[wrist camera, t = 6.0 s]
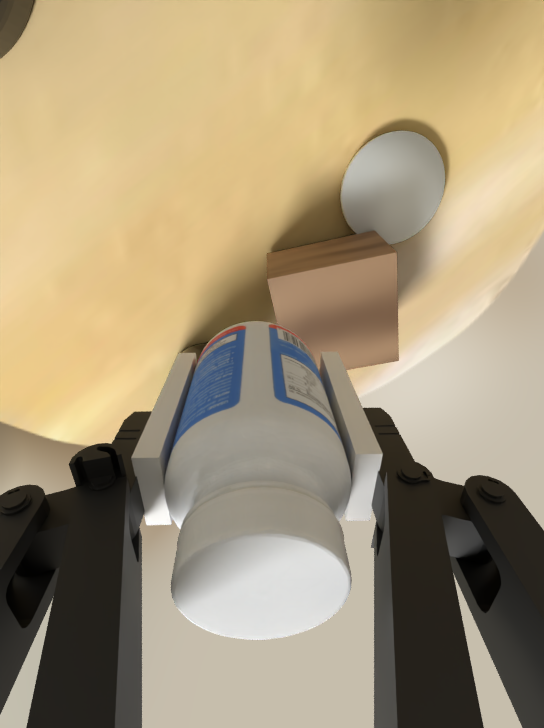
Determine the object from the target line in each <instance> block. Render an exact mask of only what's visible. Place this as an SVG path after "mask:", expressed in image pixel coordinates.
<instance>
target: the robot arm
mask: <svg viewBox="0 0 544 728" xmlns="http://www.w3.org/2000/svg"><path fill="white" fill-rule="evenodd" d="M33 1H34V0H0V58H2V57H3V56H4V55H5V54H6V53H7V52H8V51H9V50H10V49H11V48H12V47H13V46H14V44H15V43H16V42H17V40H18V39H19V37H20V35H21V34H22V32H23V30H24V28H25V26H26V23H27V21H28V18H29V15H30V12H31V9H32V5H33ZM196 364H197V360H196V353H178V355H177V357H176V359H175V361H174V364H173V366H172V368H171V370H170V373H169V375H168V377H167V379H166V382H165V384H164V386H163V388H162V390H161V393H160V395H159V397H158V399H157V402H156V404H155V406H154V408H153V410H152V412H134V413H133V414H131V415H130V416H129V417H128V418H127V419H125V420H124V422H123V424H122V426H121V427H120V429H119V432H118V433H117V435H116V437H115V440H113V442H112V444H109V443H102V444H96V445H92V446H89V447H87V448H85V449H83V450H81V451H79V452H78V453H77V454H76V455H75V456H74V457H72V459H71V461H70V463H69V466H70V469H71V472H72V475H73V478H74V481H75V484H76V487H74V488H71V489H68V490H64V491H60V492H56V493H52V494H48V495H45V493H44V491H43V489H42V488H40V487H39V486H36V485H25V486H19V487H16V488H14V489H11V490H9V491H7V492H5V493H3V494H2V495H0V714H1V712H2V710H3V707H4V705H5V703H6V701H7V698H8V696H9V694H10V691H11V689H12V687H13V685H14V683H15V681H16V678H17V676H18V674H19V672H20V669H21V667H22V665H23V663H24V661H25V658H26V656H27V654H28V652H29V649H30V647H31V645H32V643H33V641H34V638H35V636H36V634H37V632H38V630H39V627H40V625H41V623H42V621H43V618H44V616H45V614H46V612H47V610H48V607H49V605H50V603H51V601H52V598H53V602H52V607H51V612H50V616H49V622H48V626H47V631H46V636H45V641H44V645H43V650H42V655H41V660H40V665H39V670H38V675H37V680H36V684H35V689H34V694H33V699H32V703H31V708H30V713H29V719H28V723H27V728H142V536H141V532H140V528H139V526H140V523H141V520H142V518H143V515H144V516H145V520H146V525H171V523H172V519H173V518H172V517H171V515H170V512H169V510H168V507H167V503H166V499H165V490H164V484H165V475H166V470H167V466H168V462H169V458H170V454H171V451H172V447H173V443H174V440H175V436H176V433H177V429H178V426H179V423H180V419H181V416H182V412H183V409H184V405H185V402H186V399H187V395H188V392H189V388H190V385H191V381H192V378H193V375H194V371H195V368H196ZM319 373H320V377H321V380H322V383H323V386H324V389H325V392H326V395H327V398H328V401H329V404H330V407H331V410H332V413H333V416H334V419H335V422H336V425H337V429H338V431H339V435H340V437H341V440H342V444H343V447H344V450H345V453H346V457H347V460H348V464H349V468H350V474H351V494H350V499H349V503H348V506H347V508H346V511H345V512H344V515H345V519H346V521H357V520H370V517H371V512H372V509H373V511H374V514H375V517H376V520H377V521H376V525H375V530H374V535H373V540H372V545H371V548H374V728H484V727H483V722H482V717H481V712H480V707H479V702H478V697H477V692H476V687H475V682H474V677H473V672H472V666H471V661H470V656H469V651H468V646H467V641H466V636H465V631H464V627H463V621H462V616H461V611H460V606H459V600H458V596H457V590H456V585H455V580H454V575H455V577H456V580H457V582H458V584H459V586H460V588H461V591H462V593H463V595H464V598H465V600H466V602H467V604H468V606H469V609H470V611H471V613H472V616H473V618H474V620H475V622H476V624H477V627H478V629H479V631H480V633H481V636H482V638H483V640H484V642H485V645H486V647H487V649H488V651H489V654H490V656H491V658H492V660H493V662H494V665H495V667H496V669H497V671H498V674H499V676H500V678H501V680H502V683H503V685H504V687H505V689H506V692H507V694H508V696H509V698H510V700H511V702H512V705H513V707H514V709H515V712H516V714H517V716H518V718H519V721H520V723H521V725H522V727H523V728H544V530H543V529H542V528H541V526H540V525H539V524H538V522H537V521H536V520H535V518H534V517H533V516H532V515H531V513H530V512H529V511H528V509H527V508H526V506H525V505H524V504H523V503H522V501H521V500H520V499H519V497H518V496H517V495H516V493H515V492H514V491H513V490H512V489H511V488H510V487H509V486H507V485H506V484H504V483H503V482H501V481H499V480H497V479H494V478H491V477H489V476H482V475H477V476H471V477H470V478H468V479H467V480H466V482H465V485H464V486H462V485H457V484H453V483H449V482H444V481H441V480H438V479H435V478H434V477H433V475H432V473H431V472H430V471H429V470H428V469H427V468H426V467H425V466H423V465H421V464H419V463H417V462H415V461H414V459H413V458H412V456H411V454H410V452H409V450H408V448H407V446H406V444H405V443H404V441H403V439H402V437H401V435H399V432H398V430H397V428H396V427H395V424H394V422H393V420H392V419H391V417H390V416H389V415H388V414H387V413H386V412H385V411H384V410H382V409H381V408H362V406H361V403H360V401H359V399H358V396H357V394H356V392H355V390H354V387H353V385H352V383H351V381H350V378H349V376H348V374H347V371H346V369H345V367H344V365H343V362H342V360H341V358H340V356H339V353H338V352H321V355H320V368H319ZM453 573H454V575H453ZM53 596H54V597H53Z"/></svg>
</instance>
